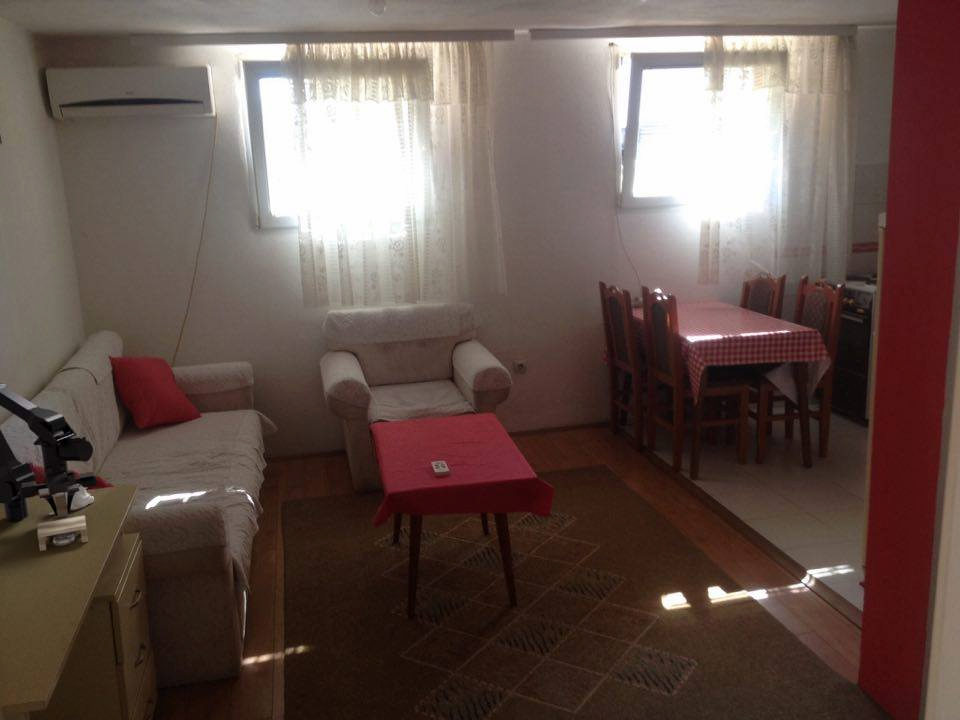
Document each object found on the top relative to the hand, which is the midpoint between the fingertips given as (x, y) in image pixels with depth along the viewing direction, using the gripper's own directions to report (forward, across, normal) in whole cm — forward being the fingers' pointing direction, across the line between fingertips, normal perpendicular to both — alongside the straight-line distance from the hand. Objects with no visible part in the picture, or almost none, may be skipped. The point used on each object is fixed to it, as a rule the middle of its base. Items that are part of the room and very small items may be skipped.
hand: (62, 514), depth 230 cm
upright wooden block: (+2, 0, 0) cm, 2 cm away
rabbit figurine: (+2, +2, +10) cm, 11 cm away
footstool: (+2, 0, -17) cm, 17 cm away
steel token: (+2, 0, -18) cm, 18 cm away
